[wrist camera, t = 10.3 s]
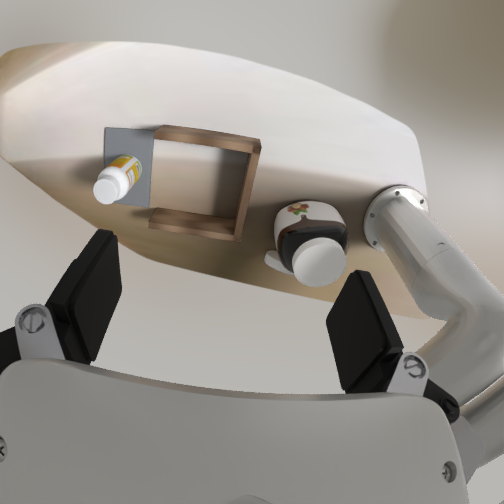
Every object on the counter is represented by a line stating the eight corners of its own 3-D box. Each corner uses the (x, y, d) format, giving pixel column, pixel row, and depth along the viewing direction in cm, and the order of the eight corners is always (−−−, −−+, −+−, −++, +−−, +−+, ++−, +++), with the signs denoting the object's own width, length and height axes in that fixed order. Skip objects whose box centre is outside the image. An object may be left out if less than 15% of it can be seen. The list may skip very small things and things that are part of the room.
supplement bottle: (108, 170, 38) (82, 193, 31) (125, 147, 36) (100, 166, 29) (130, 189, 40) (109, 215, 33) (148, 167, 38) (128, 191, 31)
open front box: (259, 139, 37) (261, 147, 33) (240, 226, 45) (239, 242, 41) (163, 124, 35) (154, 131, 31) (156, 213, 43) (148, 228, 39)
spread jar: (335, 195, 42) (361, 236, 32) (334, 255, 48) (352, 303, 39) (257, 203, 42) (260, 247, 33) (264, 263, 49) (269, 314, 39)
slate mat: (155, 130, 35) (154, 131, 35) (149, 206, 42) (148, 207, 42) (106, 127, 34) (105, 127, 34) (106, 200, 41) (105, 201, 41)
